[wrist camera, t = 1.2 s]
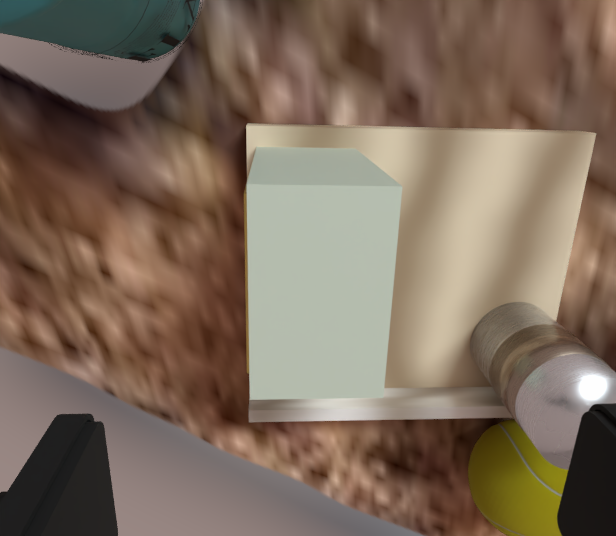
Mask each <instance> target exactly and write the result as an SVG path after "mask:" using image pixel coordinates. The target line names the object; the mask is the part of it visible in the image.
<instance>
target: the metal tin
mask: <svg viewBox="0 0 616 536" xmlns="http://www.w3.org/2000/svg"><path fill="white" fill-rule="evenodd" d="M470 351H471V355H472V358H473V360H474V362H475V363H476V365H477V366H478V367H479V369H480V370H481V372H482V373H483V374H484V376H485V377H486V379H487V380H488V381H489V383H490V384H491V386H492V388H493V390H494V391H495V393H496V394H497V396H498V397H499V398H500V400H501V401H502V403H503V404H504V405H505V407H506V408H507V410H508V411H509V412H510V414H511V415H512V417H513V418H514V419H515V421H516V422H517V424H518V425H519V426H520V428H521V429H522V430H523V431H524V432H525V433H526V434H527V436H528V437H529V439H530V440H531V441H532V443H533V444H534V446H535V447H536V448H537V450H538V451H539V452H540V454H541V455H542V456H543V458H544V459H545V460H547V461H548V462H549V463H551V464H552V465H554V466H556V467H559V468H562V469H566V470H568V469H569V465H570V461H571V457H572V453H573V449H574V445H575V441H576V437H577V433H578V429H579V425H580V421H581V418H582V415H583V414H584V413H585V412H588V411H589V409H590V407H591V406H592V405H594V404H611V403H616V372H615V371H614V370H613V369H611V367H610V366H609V365H608V364H607V363H606V362H605V361H604V360H602V359H601V358H600V357H599V356H598V355H596V354H595V353H594V352H593V351H592V350H591V349H589V348H588V347H587V346H586V345H585V344H583V343H582V342H581V341H580V340H579V339H577V338H576V337H575V336H574V335H573V334H572V333H570V332H569V331H567V330H566V329H564V328H563V327H562V326H561V325H559V324H558V323H557V322H556V321H555V320H554V319H552V318H551V317H550V316H549V315H548V314H546V313H545V312H544V311H543V310H542V309H540V308H539V307H537V306H535V305H533V304H530V303H526V302H511V303H506V304H503V305H500V306H498V307H496V308H494V309H492V310H491V311H490V312H488V313H487V314H486V315H485V316H483V317H482V319H481V320H480V321H479V322H478V324H477V325H476V327H475V329H474V330H473V333H472V336H471V340H470Z"/></svg>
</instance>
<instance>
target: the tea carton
mask: <svg viewBox="0 0 616 536" xmlns="http://www.w3.org/2000/svg"><path fill="white" fill-rule="evenodd" d="M401 197H402V186H401V185H400V184H399V183H398V182H396V181H395V180H394V179H393V178H391V177H390V176H389V175H388V174H386V173H385V172H384V171H383V170H381V169H380V168H379V167H378V166H377V165H375V164H374V163H373V162H372V161H370V160H369V159H368V158H367V157H365V156H364V155H363V154H362V153H360V152H359V151H358V150H357V149H352V148H300V147H256V151H255V154H254V158H253V161H252V165H251V168H250V172H249V176H248V180H247V183H246V187H245V191H244V237H245V295H246V354H247V374H248V373H249V382H250V400H268V399H337V398H383V396H384V385H385V374H386V363H387V352H388V341H389V330H390V319H391V308H392V297H393V286H394V275H395V264H396V253H397V242H398V230H399V219H400V208H401Z"/></svg>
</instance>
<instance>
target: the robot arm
mask: <svg viewBox="0 0 616 536" xmlns="http://www.w3.org/2000/svg"><path fill="white" fill-rule="evenodd" d="M557 523H558V528H559V530H560V533H561V535H562V536H616V403H611V404H594V405H592V406H591V407H590V409H589V411H588V412H585V413H584V414H583V415H582V418H581V421H580V425H579V429H578V433H577V437H576V441H575V445H574V449H573V453H572V457H571V461H570V465H569V469H568V473H567V477H566V481H565V485H564V489H563V493H562V497H561V501H560V505H559V509H558V513H557ZM0 536H118V528H117V521H116V513H115V506H114V498H113V490H112V483H111V476H110V468H109V461H108V453H107V446H106V438H105V430H104V425H103V423H102V422H94V418H93V416H92V415H91V414H60V415H57V416H56V417H55V419H54V420H53V421H52V423H51V425H50V426H49V428H48V429H47V431H46V432H45V434H44V435H43V437H42V439H41V440H40V442H39V443H38V445H37V447H36V448H35V449H34V451H33V453H32V454H31V456H30V457H29V459H28V460H27V462H26V463H25V465H24V467H23V468H22V470H21V472H20V473H19V474H18V476H17V477H16V479H15V481H14V482H13V484H12V485H11V487H10V488H9V490H8V491H7V492H1V493H0Z"/></svg>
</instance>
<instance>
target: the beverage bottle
mask: <svg viewBox="0 0 616 536" xmlns="http://www.w3.org/2000/svg"><path fill="white" fill-rule="evenodd" d="M199 3H200V0H0V33H3V34H8V35H14V36H19V37H24V38H29V39H34V40H39V41H44V42H48V43H49V42H50V43H55V44H58V45H62V46H65V47H69V48H72V49H78V50H83V51H89V52H94V53H95V54H96V55H97V54H105V55H109V56H114V57H120V58H125V59H132V60H138V61H142V62H144V61H148V60H151V58H155V57H159V56H161V55H163V54H166V53H167V52H169V51H171V50H172V49H174V48H175V47H176V46H177V45H179V44H181V42H182V40H183V39H184V38H185V37H187V36H188V35H189V34H190V32H189V31H190V30H191V29H192V28H193V27H192V26H193V24H195V22H196V21H195V19H197V18H196V16H197V15H198V14H199V13H198V12H199V11H198V8H200V7H199ZM202 3H203V1H202ZM200 4H201V3H200ZM200 6H201V5H200ZM201 8H202V7H201ZM199 10H200V9H199ZM200 12H201V11H200ZM197 13H198V14H197ZM199 16H200V15H199ZM198 19H199V18H198ZM194 21H195V22H194ZM196 24H197V23H196ZM195 26H196V25H195ZM194 28H195V27H194ZM193 30H194V29H193ZM192 32H193V31H192ZM188 33H189V34H188ZM187 34H188V35H187ZM190 35H191V34H190ZM188 38H189V37H188ZM185 42H186V41H185ZM185 42H184V43H185ZM184 43H183V44H184ZM183 44H182V45H183ZM182 45H181V46H182ZM179 48H180V47H179ZM86 53H87V52H86ZM95 54H94V55H95ZM82 55H83V54H82ZM92 55H93V54H92ZM101 58H102V57H101ZM109 59H110V58H109Z"/></svg>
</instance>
